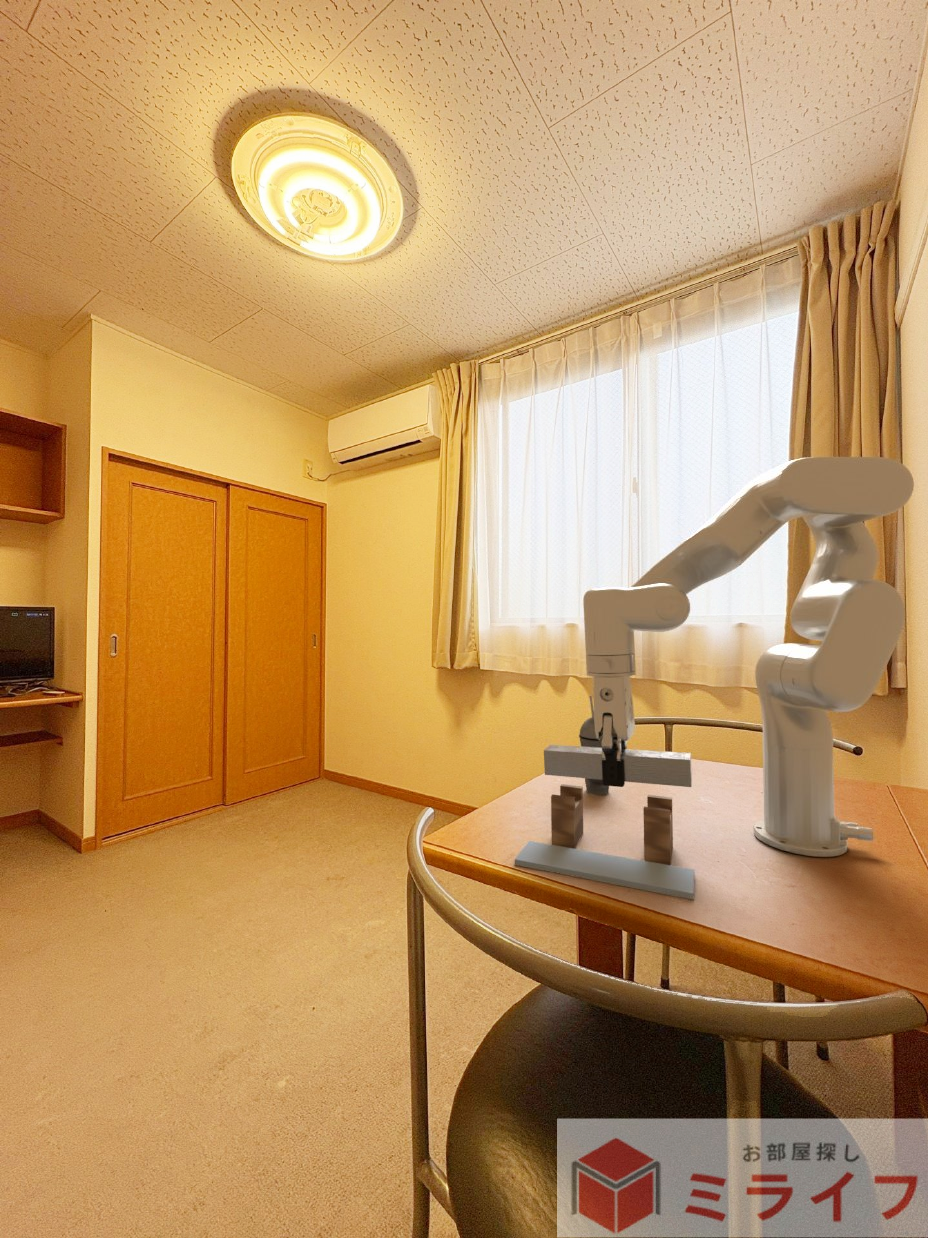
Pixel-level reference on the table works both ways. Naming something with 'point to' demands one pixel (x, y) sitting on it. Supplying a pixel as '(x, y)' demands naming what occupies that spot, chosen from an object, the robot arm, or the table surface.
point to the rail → (636, 765)
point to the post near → (658, 830)
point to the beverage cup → (590, 740)
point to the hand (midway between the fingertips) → (616, 780)
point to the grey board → (609, 869)
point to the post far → (567, 816)
